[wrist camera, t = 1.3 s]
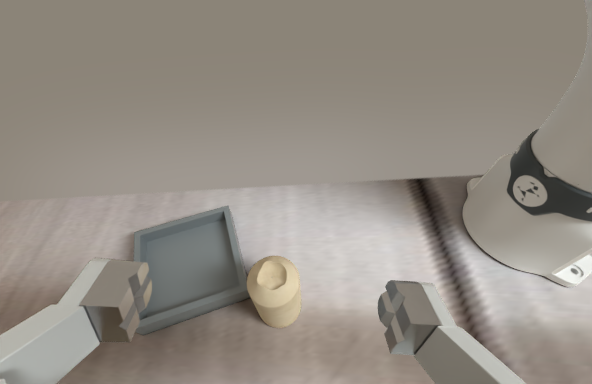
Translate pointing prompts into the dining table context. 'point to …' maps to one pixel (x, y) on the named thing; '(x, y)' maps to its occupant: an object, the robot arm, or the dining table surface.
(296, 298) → the candle
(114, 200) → the dining table surface
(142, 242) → the serving tray
